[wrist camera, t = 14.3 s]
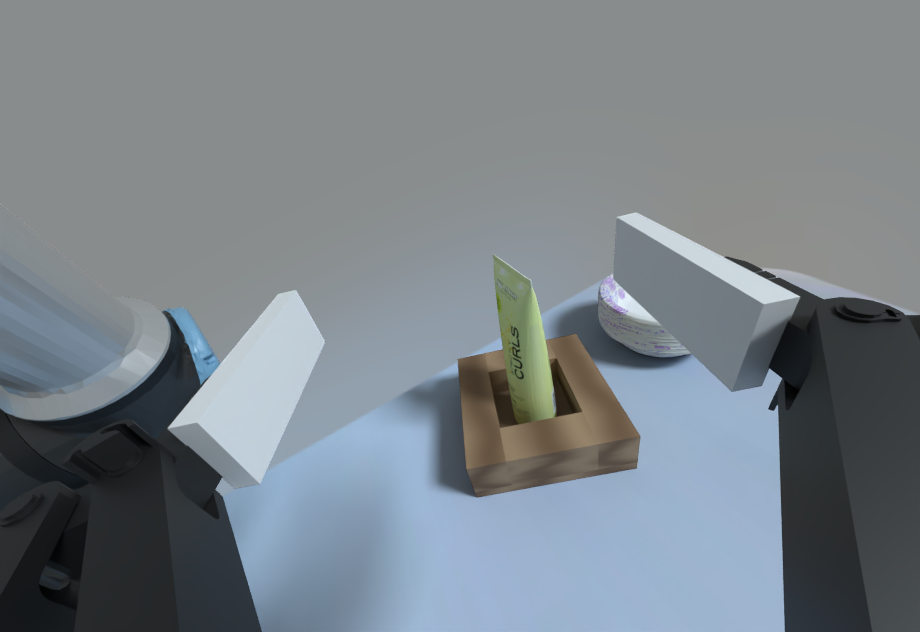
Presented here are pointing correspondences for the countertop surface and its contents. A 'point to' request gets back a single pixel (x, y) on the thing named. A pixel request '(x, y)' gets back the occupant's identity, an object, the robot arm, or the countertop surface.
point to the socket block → (542, 424)
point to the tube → (523, 346)
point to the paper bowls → (634, 323)
